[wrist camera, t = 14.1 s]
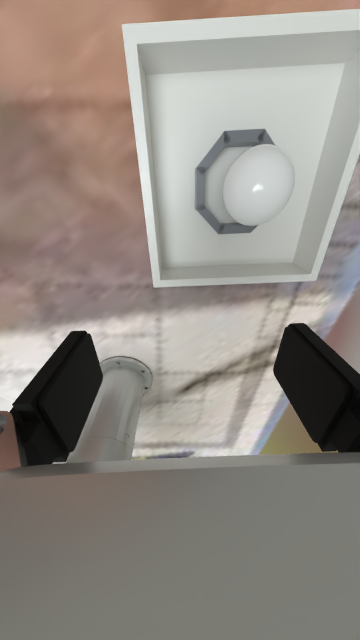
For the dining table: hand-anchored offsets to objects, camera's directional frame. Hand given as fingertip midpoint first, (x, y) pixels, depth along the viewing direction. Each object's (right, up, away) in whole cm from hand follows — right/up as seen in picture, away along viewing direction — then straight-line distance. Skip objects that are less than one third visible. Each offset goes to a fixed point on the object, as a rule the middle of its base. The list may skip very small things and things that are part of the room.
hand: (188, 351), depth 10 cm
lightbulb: (+7, +18, +16) cm, 25 cm away
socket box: (+7, +19, +16) cm, 26 cm away
